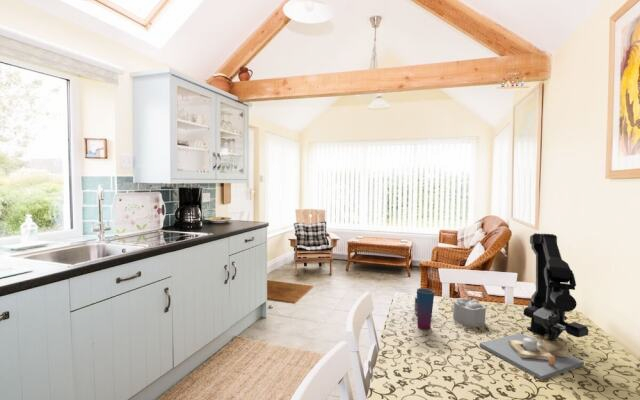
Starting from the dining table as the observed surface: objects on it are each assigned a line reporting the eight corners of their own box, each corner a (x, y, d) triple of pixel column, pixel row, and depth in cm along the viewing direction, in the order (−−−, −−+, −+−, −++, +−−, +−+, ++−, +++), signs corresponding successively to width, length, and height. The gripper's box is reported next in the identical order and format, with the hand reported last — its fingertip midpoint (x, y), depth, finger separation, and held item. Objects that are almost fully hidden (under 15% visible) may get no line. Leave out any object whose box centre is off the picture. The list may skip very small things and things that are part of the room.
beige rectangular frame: (520, 357, 111) (521, 347, 111) (507, 342, 121) (508, 333, 121) (573, 362, 109) (573, 351, 109) (555, 347, 119) (556, 337, 118)
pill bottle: (412, 310, 153) (413, 289, 152) (424, 310, 153) (425, 289, 153) (417, 315, 147) (418, 293, 146) (429, 315, 148) (430, 293, 147)
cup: (433, 331, 131) (435, 294, 131) (415, 329, 133) (417, 292, 132) (431, 324, 138) (433, 288, 137) (414, 322, 140) (416, 287, 139)
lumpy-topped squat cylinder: (469, 327, 136) (470, 307, 136) (446, 315, 148) (447, 296, 148) (488, 324, 140) (489, 304, 139) (464, 312, 152) (465, 294, 152)
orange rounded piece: (550, 363, 108) (550, 354, 108) (555, 365, 106) (556, 356, 106) (547, 364, 107) (547, 355, 107) (552, 366, 106) (552, 357, 106)
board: (519, 336, 130) (520, 322, 129) (583, 365, 110) (584, 349, 109) (479, 346, 121) (480, 332, 120) (541, 379, 101) (542, 363, 100)
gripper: (515, 294, 121) (511, 335, 122) (571, 314, 104) (566, 362, 105) (535, 291, 126) (531, 330, 127) (591, 310, 109) (586, 356, 110)
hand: (551, 344), depth 117 cm, fingers closed
